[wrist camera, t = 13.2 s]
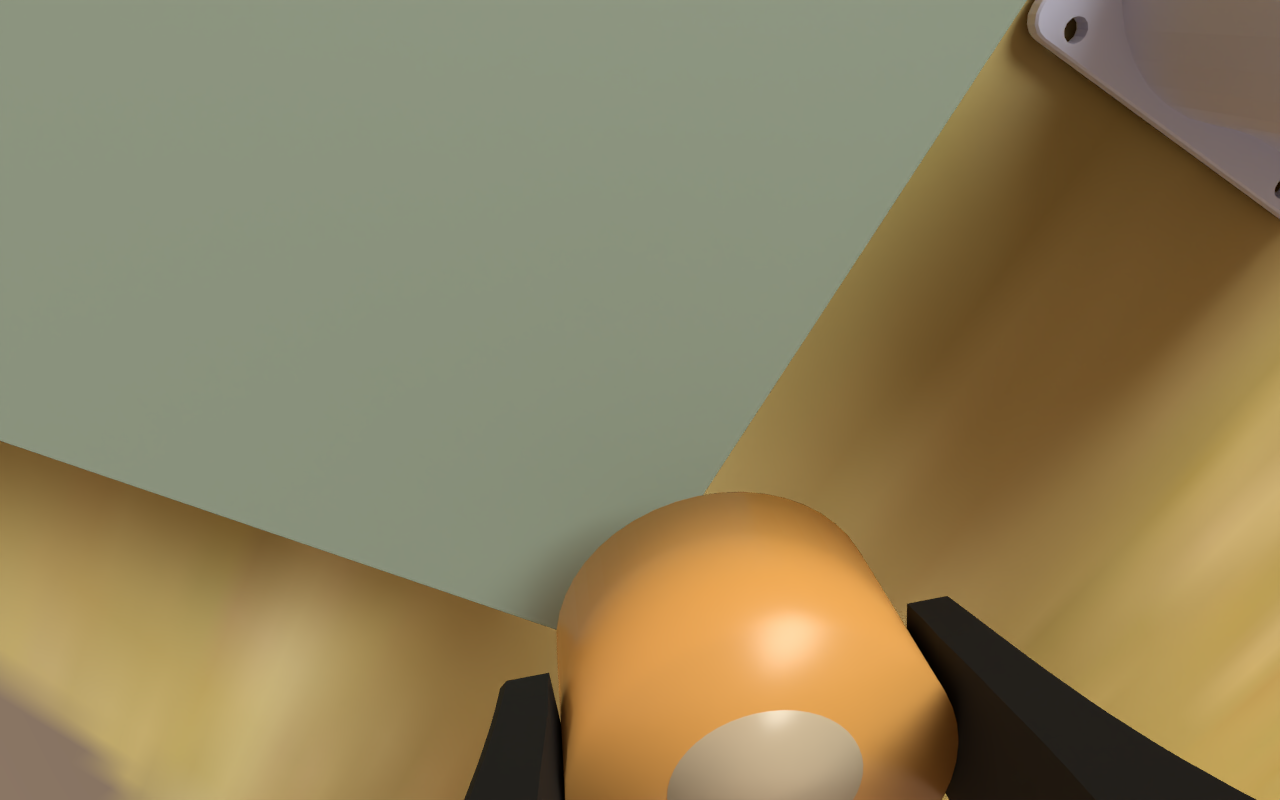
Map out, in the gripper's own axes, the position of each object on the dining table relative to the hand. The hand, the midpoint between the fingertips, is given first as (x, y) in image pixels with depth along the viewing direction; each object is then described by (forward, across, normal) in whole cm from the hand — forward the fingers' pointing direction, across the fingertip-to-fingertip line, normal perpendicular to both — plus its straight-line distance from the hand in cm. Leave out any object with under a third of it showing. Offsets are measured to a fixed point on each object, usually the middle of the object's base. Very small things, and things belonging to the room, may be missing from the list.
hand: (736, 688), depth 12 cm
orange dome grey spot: (+1, 0, 0) cm, 1 cm away
